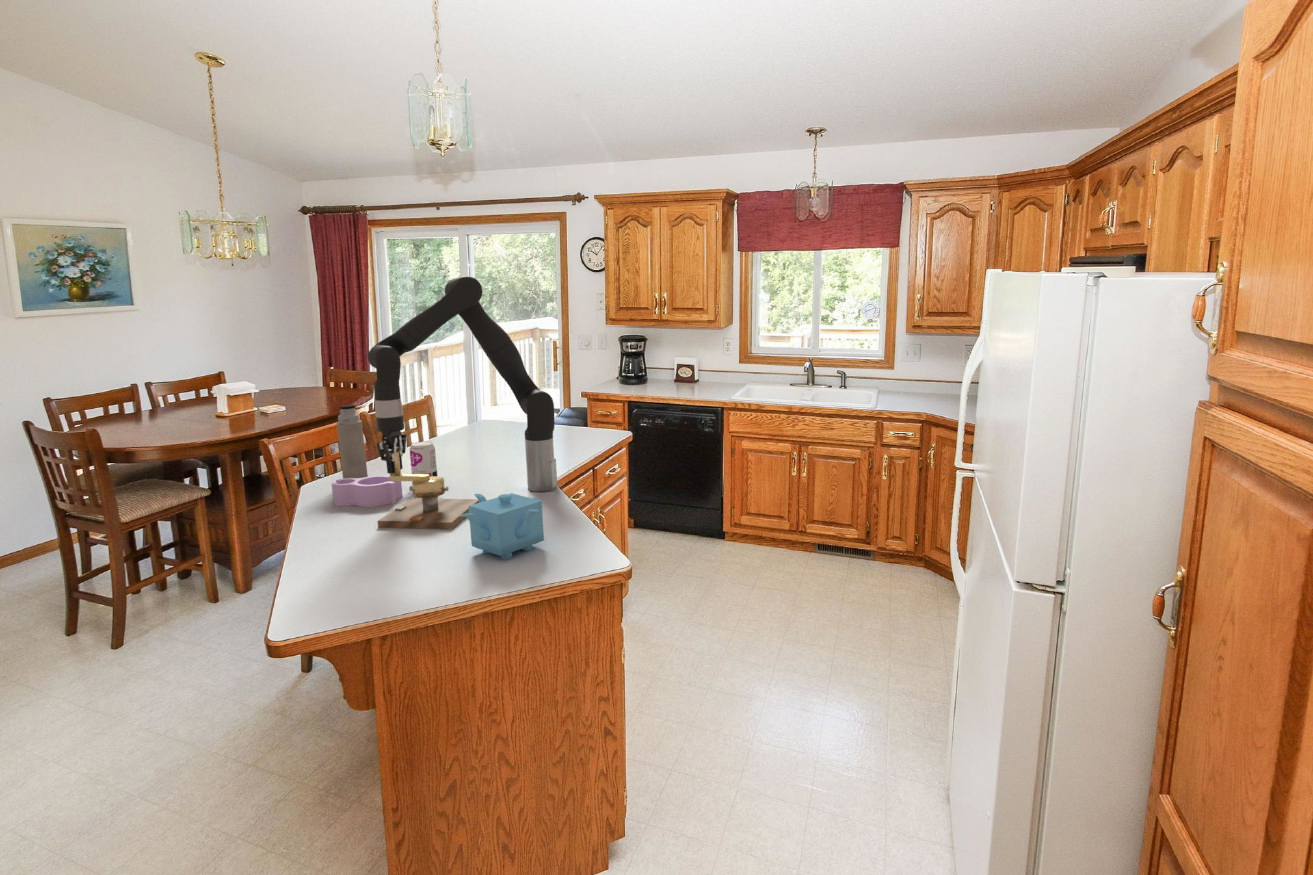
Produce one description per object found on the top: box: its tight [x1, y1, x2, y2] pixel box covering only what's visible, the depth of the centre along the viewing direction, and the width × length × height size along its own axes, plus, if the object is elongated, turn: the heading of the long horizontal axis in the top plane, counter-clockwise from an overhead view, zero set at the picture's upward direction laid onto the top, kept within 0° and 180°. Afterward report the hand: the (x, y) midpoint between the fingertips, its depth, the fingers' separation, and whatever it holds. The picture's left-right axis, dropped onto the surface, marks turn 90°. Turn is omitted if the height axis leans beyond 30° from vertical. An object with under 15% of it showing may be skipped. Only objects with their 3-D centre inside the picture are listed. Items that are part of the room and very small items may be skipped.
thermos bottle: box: [336, 404, 369, 479], centre depth 246 cm, size 8×8×28 cm
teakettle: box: [460, 493, 545, 560], centre depth 182 cm, size 19×19×15 cm
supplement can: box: [409, 441, 439, 477], centre depth 243 cm, size 8×8×15 cm
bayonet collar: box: [388, 451, 449, 498], centre depth 210 cm, size 17×9×12 cm, turn 83°
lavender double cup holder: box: [331, 474, 403, 508], centre depth 229 cm, size 20×12×7 cm, turn 93°
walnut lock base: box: [377, 496, 479, 530], centre depth 212 cm, size 22×22×7 cm
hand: (395, 471), depth 211 cm, fingers open, 3 cm apart
